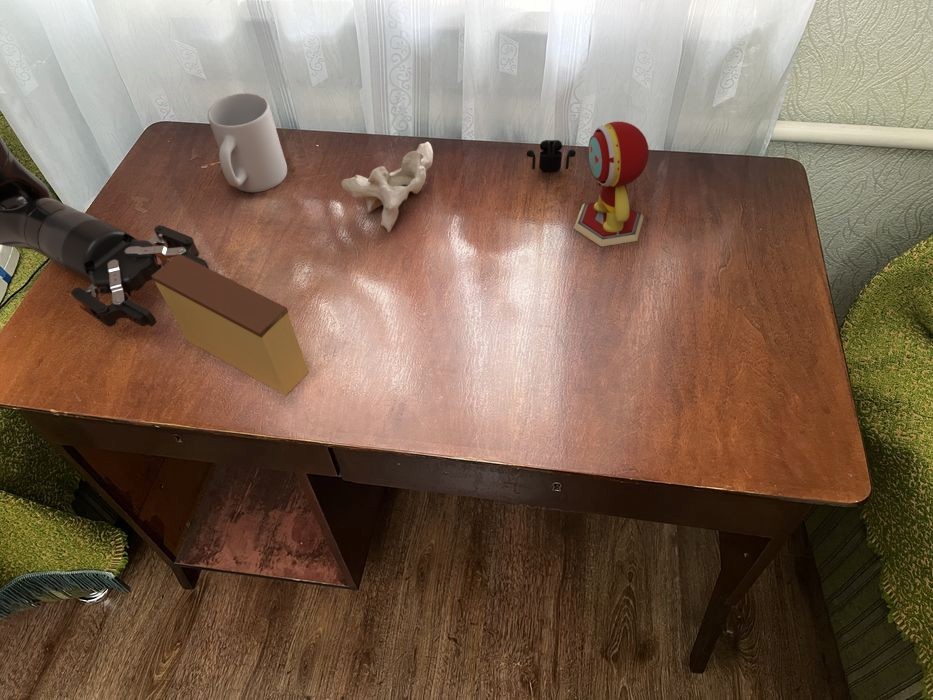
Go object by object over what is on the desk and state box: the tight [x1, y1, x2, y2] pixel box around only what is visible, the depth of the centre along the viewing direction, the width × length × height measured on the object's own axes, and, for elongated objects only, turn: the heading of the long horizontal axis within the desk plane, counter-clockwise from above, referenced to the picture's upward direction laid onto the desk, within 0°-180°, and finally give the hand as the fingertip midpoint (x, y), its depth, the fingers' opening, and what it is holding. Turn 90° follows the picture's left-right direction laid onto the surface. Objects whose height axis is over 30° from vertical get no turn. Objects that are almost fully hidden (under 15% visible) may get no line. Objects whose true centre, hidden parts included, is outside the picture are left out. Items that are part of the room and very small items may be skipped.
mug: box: [207, 92, 288, 193], centre depth 99 cm, size 12×8×11 cm
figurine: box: [573, 120, 650, 247], centre depth 89 cm, size 9×10×15 cm
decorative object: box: [340, 141, 434, 234], centre depth 96 cm, size 9×14×8 cm, turn 140°
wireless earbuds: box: [526, 139, 577, 172], centre depth 101 cm, size 7×2×5 cm, turn 88°
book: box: [151, 254, 310, 397], centre depth 78 cm, size 16×4×11 cm, turn 58°
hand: (180, 295), depth 80 cm, fingers open, 8 cm apart
